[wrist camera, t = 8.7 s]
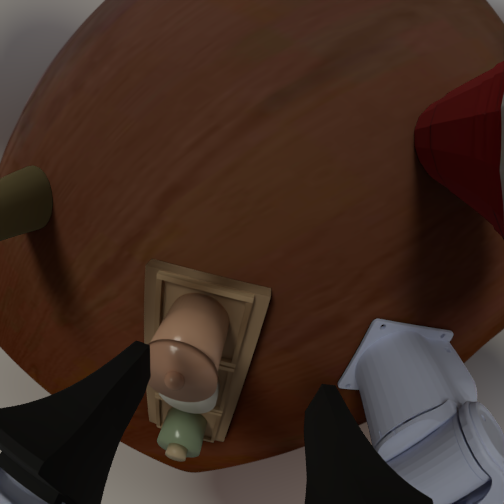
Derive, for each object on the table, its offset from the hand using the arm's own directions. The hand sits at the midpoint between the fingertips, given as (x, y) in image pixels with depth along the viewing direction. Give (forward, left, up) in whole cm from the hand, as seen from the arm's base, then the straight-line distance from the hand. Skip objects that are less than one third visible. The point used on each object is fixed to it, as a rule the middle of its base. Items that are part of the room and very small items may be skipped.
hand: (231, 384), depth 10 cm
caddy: (+3, +11, -10) cm, 15 cm away
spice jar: (+3, +4, -9) cm, 10 cm away
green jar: (+3, +18, -9) cm, 20 cm away
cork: (+21, -2, -10) cm, 23 cm away
